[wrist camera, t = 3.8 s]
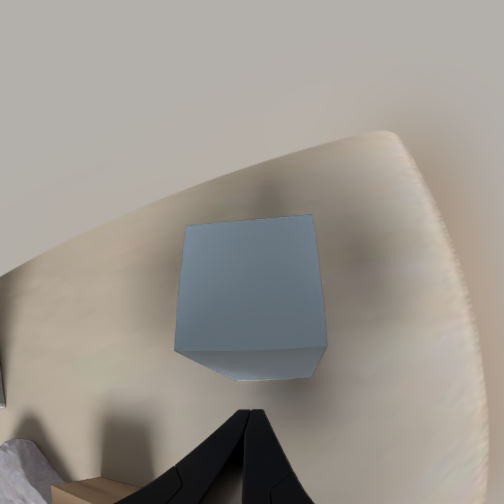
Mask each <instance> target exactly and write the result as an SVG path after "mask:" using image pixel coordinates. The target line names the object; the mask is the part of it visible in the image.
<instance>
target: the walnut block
mask: <svg viewBox="0 0 504 504" xmlns="http://www.w3.org/2000/svg"><path fill="white" fill-rule="evenodd" d="M139 489H141V488H138V487H134V486H130V485H127V484H123V483H119V482H116V481H113V480H109V479H106V478H103V477H97V478H92V479H86V480H81V481H75V482H68V483H61V484H54V485H51V494H52V502H53V504H113V503H115V502H117V501H119V500H121V499H122V498H124V497H126V496H128V495H130V494H132V493H134V492H135V491H137V490H139Z"/></svg>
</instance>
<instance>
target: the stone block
mask: <svg viewBox="0 0 504 504" xmlns="http://www.w3.org/2000/svg"><path fill="white" fill-rule="evenodd" d="M61 483H66V482H65V481H64V480H63V479H62V478H61V477H60V476H59V474H58V473H57V472H56V471H54V470H53V468H52V467H51V465H50V464H49V462H48V460H47V458H46V457H45V456H44V455H43V454H42V453H41V451H40V450H39V448H38V447H37V445H36V444H35V443H34V442H33V441H30V440H24V439H16V440H14V439H12V440H9V441H5V442H4V443H3V444H2V445H1V446H0V504H53V502H52V494H51V485H54V484H61Z"/></svg>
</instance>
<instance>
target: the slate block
mask: <svg viewBox="0 0 504 504" xmlns="http://www.w3.org/2000/svg"><path fill="white" fill-rule="evenodd" d="M327 346H328V345H327V333H326V322H325V312H324V302H323V293H322V284H321V275H320V267H319V259H318V252H317V244H316V237H315V230H314V223H313V216H312V215H299V216H287V217H275V218H263V219H252V220H241V221H230V222H220V223H210V224H200V225H190V226H186V231H185V239H184V247H183V256H182V265H181V274H180V284H179V295H178V306H177V319H176V332H175V348H174V351H176V352H178V353H179V354H181V355H183V356H185V357H187V358H189V359H191V360H193V361H195V362H197V363H199V364H201V365H203V366H205V367H207V368H209V369H212V370H214V371H216V372H218V373H220V374H222V375H224V376H227V377H229V378H231V379H233V380H235V381H253V380H280V379H297V378H311V376H312V374H313V372H314V371H315V369H316V367H317V365H318V363H319V361H320V359H321V357H322V355H323V353H324V351H325V350H326V348H327Z"/></svg>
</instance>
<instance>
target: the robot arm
mask: <svg viewBox="0 0 504 504" xmlns="http://www.w3.org/2000/svg"><path fill="white" fill-rule="evenodd" d="M241 503H242V504H315V503H314V502H313V501H312V500H311V498H310V497H309V496H308V494H307V493H306V491H305V490H304V488H303V487H302V485H301V483H300V482H299V480H298V478H297V476H296V474H295V472H293V469H292V467H291V465H290V463H289V461H288V459H287V457H286V455H285V453H284V451H283V449H282V447H281V445H280V443H279V441H278V439H277V437H276V435H275V433H274V431H273V428H272V426H271V424H270V422H269V420H268V418H267V416H266V414H265V412H264V410H263V409H253V410H251V411H250V410H249V409H248V410H238V411H236V412H235V413H234V414H233V415H232V416H231V417H230V418H229V419H228V420H227V421H226V422H225V423H223V424H222V425H221V426H220V427H219V428H218V429H217V430H216V431H215V432H213V433H212V434H211V435H210V436H209V437H208V438H207V439H205V440H204V441H203V442H202V443H201V444H200V445H199V446H197V447H196V448H195V449H194V450H193V451H191V452H190V453H189V454H188V455H187V456H185V457H184V458H183V459H182V460H181V461H179V462H178V463H177V464H176V465H175V466H173V467H171V468H170V469H169V470H167V471H166V472H165V473H163V474H162V475H161V476H159V477H158V478H157V479H155V480H154V481H152V482H151V483H149V484H147V485H146V486H144V487H142V488H141V489H139V490H137V491H135V492H134V493H132V494H130V495H128V496H126V497H124V498H122V499H121V500H119V501H117V502H115V503H113V504H241Z"/></svg>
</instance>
